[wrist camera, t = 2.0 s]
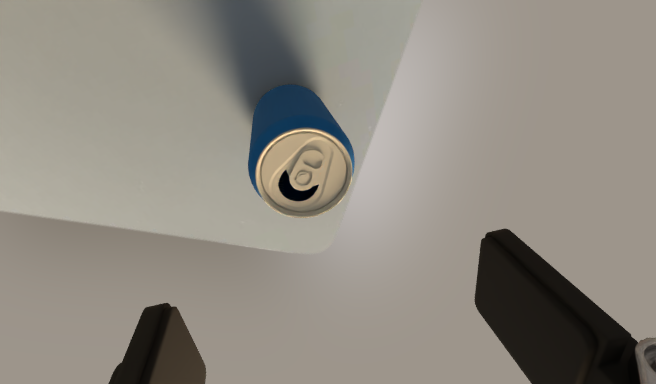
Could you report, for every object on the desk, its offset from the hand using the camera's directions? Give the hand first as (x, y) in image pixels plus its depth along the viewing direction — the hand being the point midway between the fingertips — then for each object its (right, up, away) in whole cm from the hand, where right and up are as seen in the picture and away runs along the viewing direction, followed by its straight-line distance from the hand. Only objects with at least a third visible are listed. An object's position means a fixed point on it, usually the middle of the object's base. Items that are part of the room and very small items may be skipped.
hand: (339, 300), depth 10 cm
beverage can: (-4, +10, +20) cm, 22 cm away
